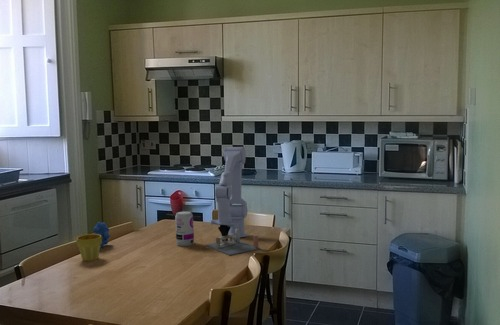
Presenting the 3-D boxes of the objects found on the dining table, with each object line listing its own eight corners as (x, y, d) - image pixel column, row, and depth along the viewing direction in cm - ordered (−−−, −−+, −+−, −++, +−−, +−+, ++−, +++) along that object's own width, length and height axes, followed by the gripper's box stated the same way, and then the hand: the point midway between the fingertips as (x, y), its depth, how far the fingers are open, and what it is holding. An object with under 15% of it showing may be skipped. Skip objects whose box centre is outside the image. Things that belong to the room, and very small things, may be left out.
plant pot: (95, 262, 218) (94, 240, 217) (73, 262, 220) (71, 239, 219) (107, 255, 228) (105, 234, 227) (85, 255, 230) (84, 233, 229)
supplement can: (195, 241, 247) (194, 210, 246) (192, 246, 239) (190, 214, 238) (178, 242, 248) (177, 211, 246) (174, 246, 240) (173, 214, 238)
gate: (234, 242, 240) (234, 233, 239) (236, 242, 239) (235, 233, 239) (216, 247, 232) (216, 237, 232) (218, 247, 231) (217, 238, 231)
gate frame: (205, 245, 239) (205, 230, 239) (235, 240, 248) (234, 225, 247) (229, 255, 222) (228, 239, 221) (260, 249, 231) (259, 233, 230)
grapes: (102, 250, 237) (100, 224, 236) (89, 249, 239) (88, 224, 238) (117, 244, 248) (115, 219, 247) (105, 243, 250) (103, 218, 249)
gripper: (206, 212, 236) (207, 241, 238) (231, 215, 228) (232, 245, 229) (216, 209, 242) (217, 237, 243) (241, 212, 233) (241, 241, 235)
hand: (225, 241), depth 237 cm, fingers closed, pressing on gate
